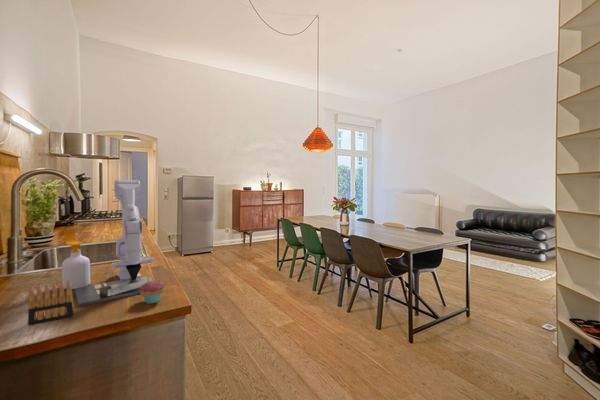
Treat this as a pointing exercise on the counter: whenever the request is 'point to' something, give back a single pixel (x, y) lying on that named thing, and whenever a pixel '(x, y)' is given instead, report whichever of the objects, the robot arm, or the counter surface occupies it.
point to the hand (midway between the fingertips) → (133, 282)
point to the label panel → (92, 293)
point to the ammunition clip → (50, 304)
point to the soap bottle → (75, 263)
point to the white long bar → (122, 287)
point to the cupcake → (152, 290)
